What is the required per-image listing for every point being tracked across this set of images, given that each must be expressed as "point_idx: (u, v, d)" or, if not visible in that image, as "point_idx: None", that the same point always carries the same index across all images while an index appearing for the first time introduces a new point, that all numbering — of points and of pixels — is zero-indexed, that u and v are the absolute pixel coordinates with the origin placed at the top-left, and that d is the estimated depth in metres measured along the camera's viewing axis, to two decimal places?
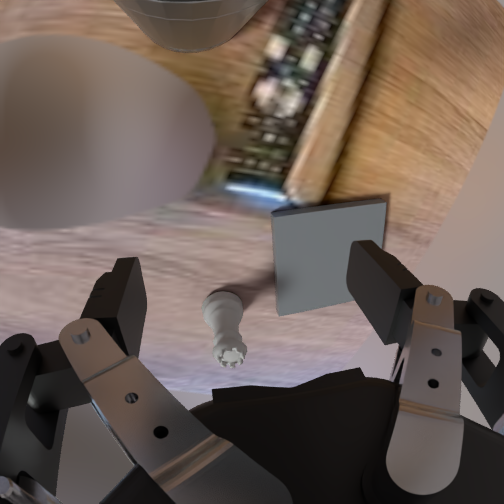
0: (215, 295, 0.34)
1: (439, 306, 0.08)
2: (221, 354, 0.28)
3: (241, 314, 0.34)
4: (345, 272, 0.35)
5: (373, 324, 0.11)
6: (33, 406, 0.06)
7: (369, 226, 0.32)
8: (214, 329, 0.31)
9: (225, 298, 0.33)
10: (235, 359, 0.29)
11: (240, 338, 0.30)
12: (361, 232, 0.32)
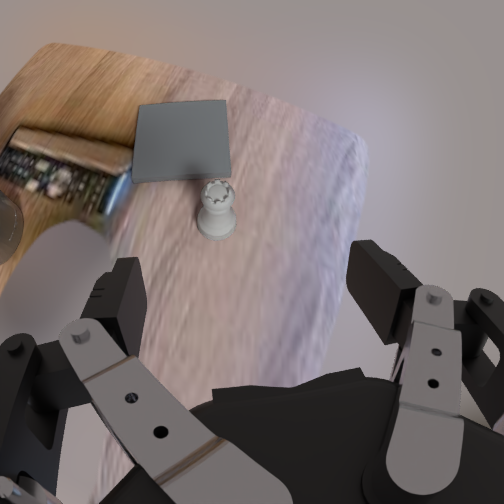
0: None
1: (439, 306, 0.08)
2: (209, 198, 0.29)
3: None
4: (194, 124, 0.40)
5: (373, 324, 0.11)
6: (33, 406, 0.06)
7: (156, 113, 0.40)
8: (212, 218, 0.33)
9: (198, 215, 0.36)
10: (223, 188, 0.30)
11: None
12: (160, 117, 0.39)
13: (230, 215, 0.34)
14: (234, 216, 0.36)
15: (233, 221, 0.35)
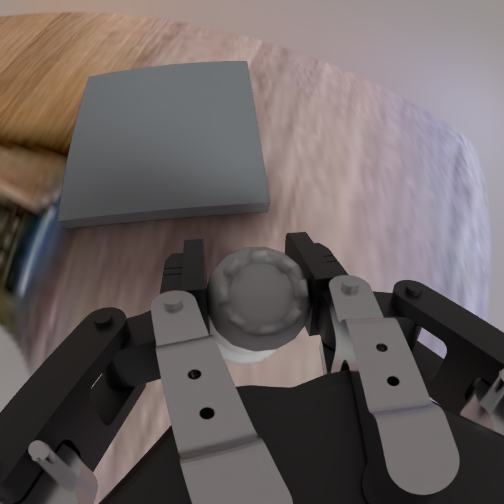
0: None
1: (351, 296, 0.08)
2: (235, 321, 0.09)
3: None
4: (187, 102, 0.19)
5: None
6: (107, 379, 0.08)
7: (115, 87, 0.19)
8: None
9: None
10: (278, 278, 0.09)
11: None
12: (121, 94, 0.19)
13: None
14: None
15: None
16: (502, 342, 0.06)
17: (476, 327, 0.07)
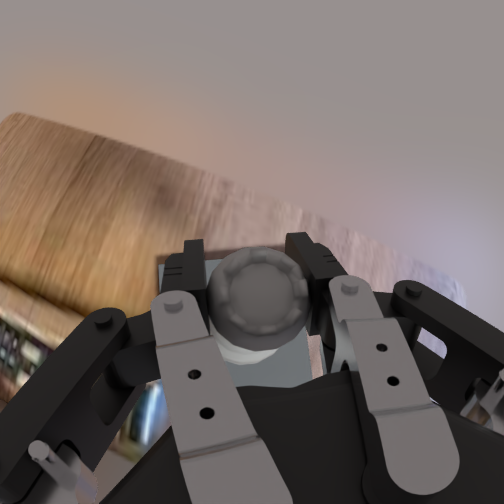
0: None
1: (351, 296, 0.08)
2: (235, 321, 0.09)
3: None
4: None
5: None
6: (107, 379, 0.08)
7: None
8: None
9: None
10: (277, 278, 0.09)
11: None
12: None
13: None
14: None
15: None
16: (503, 342, 0.06)
17: (476, 327, 0.07)
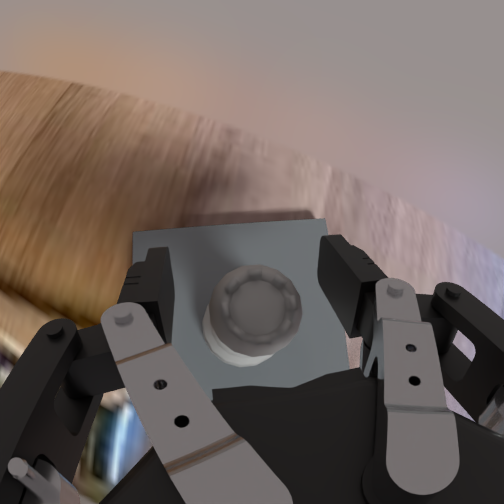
0: None
1: (398, 299, 0.08)
2: (235, 332, 0.10)
3: None
4: None
5: (339, 317, 0.11)
6: (66, 391, 0.07)
7: (173, 258, 0.19)
8: None
9: (203, 318, 0.16)
10: (272, 293, 0.11)
11: None
12: (184, 271, 0.18)
13: None
14: None
15: None
16: None
17: None
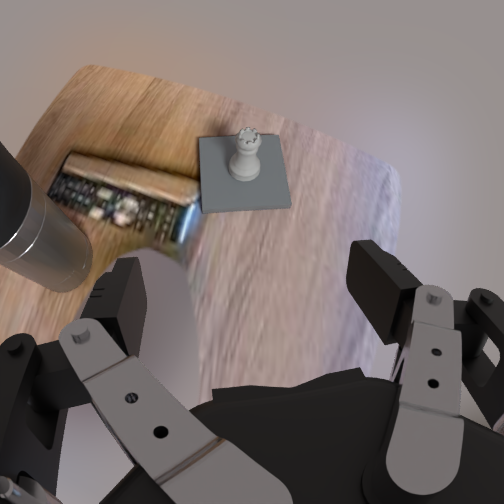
0: (230, 170, 0.44)
1: (439, 306, 0.08)
2: (242, 140, 0.37)
3: None
4: None
5: (373, 324, 0.11)
6: (33, 406, 0.06)
7: (216, 146, 0.46)
8: (243, 159, 0.40)
9: None
10: (252, 133, 0.38)
11: None
12: (220, 151, 0.46)
13: (256, 159, 0.42)
14: (259, 161, 0.43)
15: (258, 165, 0.43)
16: None
17: None
